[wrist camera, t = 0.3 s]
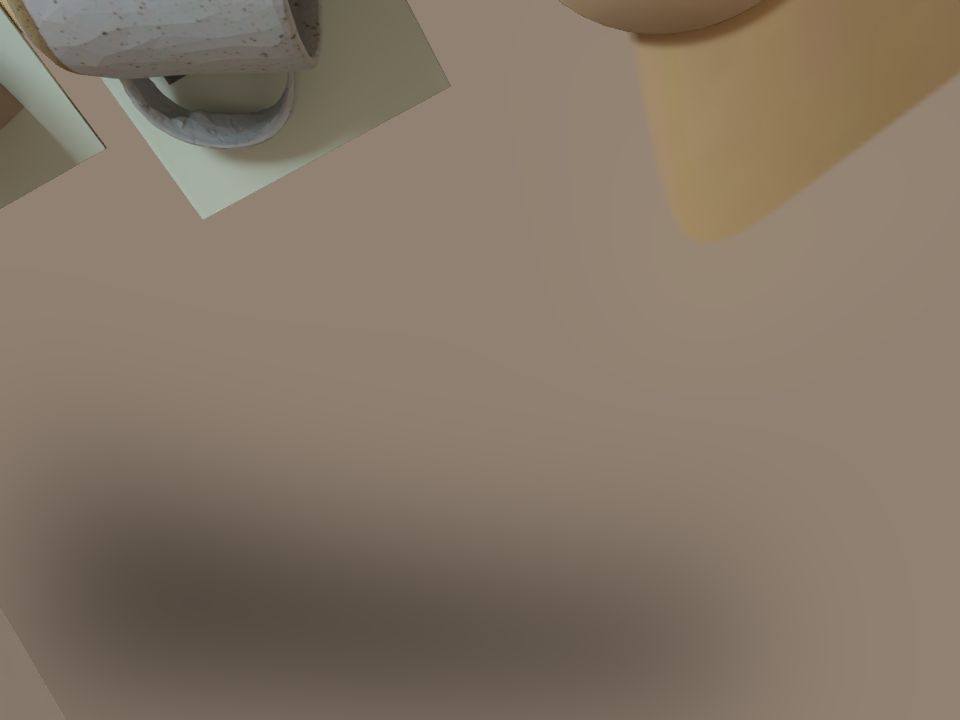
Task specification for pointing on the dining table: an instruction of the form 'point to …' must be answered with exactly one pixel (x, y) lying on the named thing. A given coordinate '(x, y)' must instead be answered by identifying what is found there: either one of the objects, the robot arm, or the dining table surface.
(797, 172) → the dining table surface
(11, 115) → the walnut block
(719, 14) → the coaster
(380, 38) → the plate
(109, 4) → the ceramic mug
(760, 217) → the dining table surface
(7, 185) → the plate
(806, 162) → the dining table surface
